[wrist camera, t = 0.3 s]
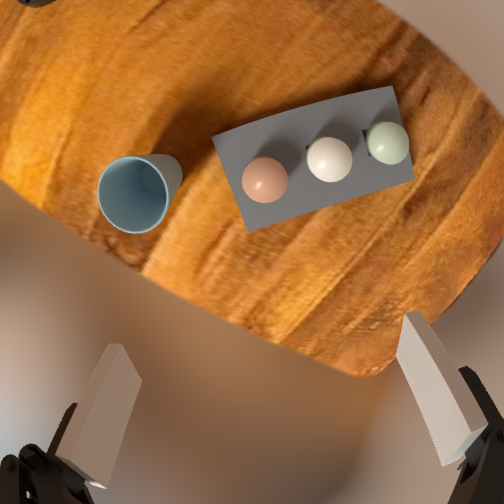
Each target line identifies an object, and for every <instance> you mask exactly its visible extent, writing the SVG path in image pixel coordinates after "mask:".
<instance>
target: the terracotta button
mask: <svg viewBox="0 0 504 504" xmlns="http://www.w3.org/2000/svg"><path fill="white" fill-rule="evenodd" d="M287 185H288V176H287V173H286V171H285V169H284V167H283V166H282V164H281V163H280V162H279V161H277V160H276V159H274V158H272V157H268V156H261V157H257V158H254V159H253V160H251V161H250V162H249V163H248V164H247V165H246V167H245V169H244V171H243V175H242V186H243V189H244V191H245V193H246V194H247V195H248V196H249V197H250V198H251V199H252V200H254V201H256V202H260V203H270V202H273V201H276V200H277V199H279V198H280V197H281V196H282V195H283V194H284V192H285V191H286V189H287Z"/></svg>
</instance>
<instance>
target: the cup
mask: <svg viewBox="0 0 504 504" xmlns="http://www.w3.org/2000/svg"><path fill="white" fill-rule="evenodd" d="M182 178H183V173H182V168H181V165H180V164H179V162H178V161H177V160H176V159H175V158H174V157H172V156H170V155H168V154H148V155H133V156H125V157H121V158H118V159H116V160H114V161H113V162H111V163H110V164H109V165H108V166H107V167H106V168H105V170H104V171H103V173H102V175H101V177H100V179H99V183H98V189H97V196H98V202H99V206H100V208H101V210H102V212H103V214H104V216H105V217H106V219H107V220H108V221H109V222H110V223H111V224H112V225H114V226H115V227H116V228H118V229H120V230H122V231H125V232H128V233H143V232H146V231H149V230H151V229H153V228H154V227H156V226H157V225H158V224H159V223H160V222H161V221H162V219H163V218H164V216H165V214H166V212H167V210H168V208H169V206H170V204H171V202H172V200H173V199H174V197H175V195H176V193H177V191H178V189H179V187H180V185H181V182H182Z"/></svg>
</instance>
